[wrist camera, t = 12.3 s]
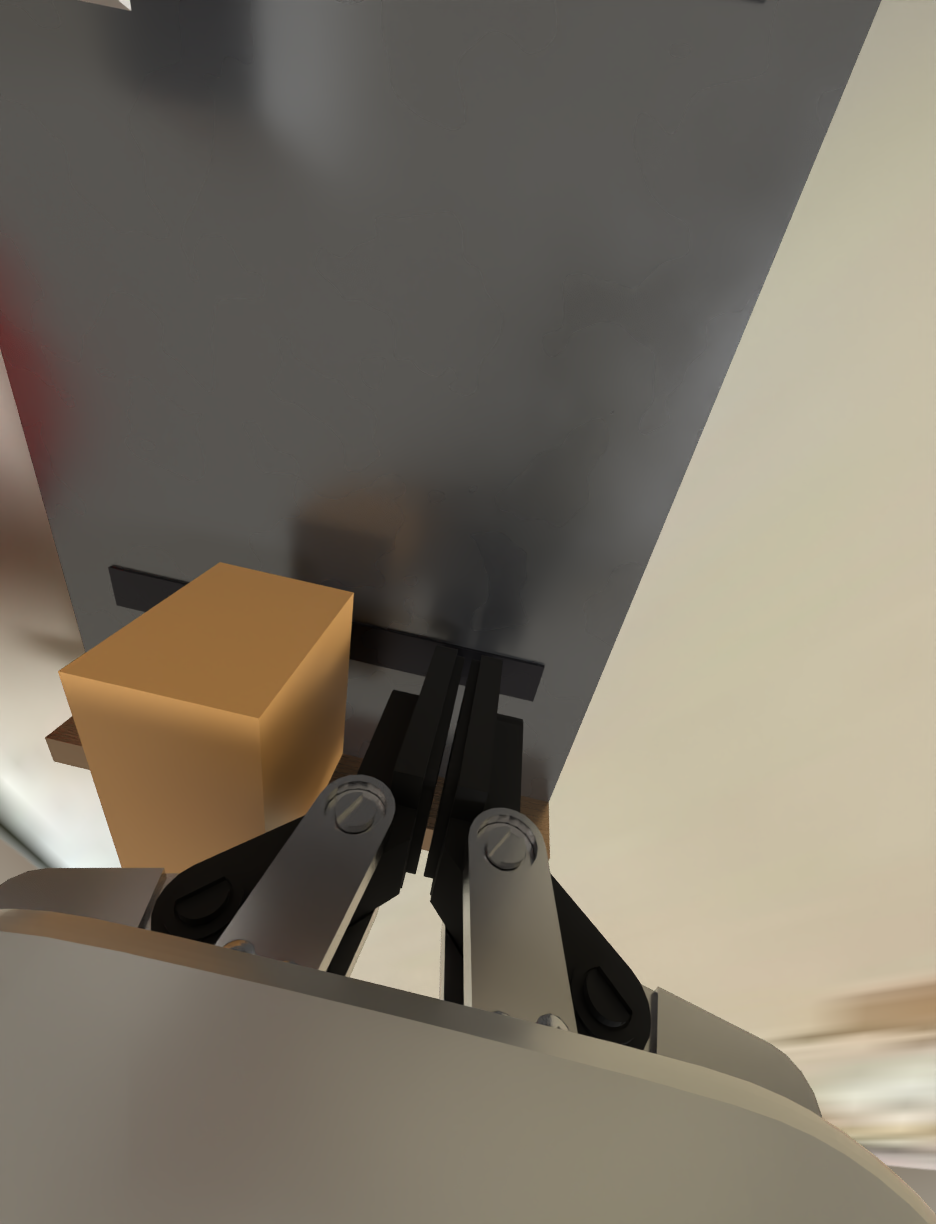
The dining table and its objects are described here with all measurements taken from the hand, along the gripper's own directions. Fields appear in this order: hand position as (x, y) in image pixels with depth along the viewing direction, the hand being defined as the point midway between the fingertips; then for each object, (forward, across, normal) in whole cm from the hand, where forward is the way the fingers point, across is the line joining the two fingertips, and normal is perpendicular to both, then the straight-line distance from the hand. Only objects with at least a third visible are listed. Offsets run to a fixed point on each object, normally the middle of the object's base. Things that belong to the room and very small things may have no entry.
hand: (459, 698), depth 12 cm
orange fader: (+1, +4, 0) cm, 4 cm away
